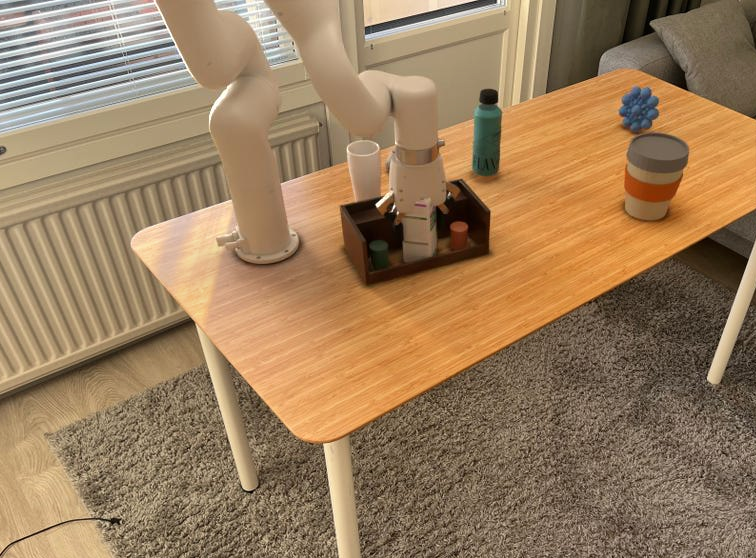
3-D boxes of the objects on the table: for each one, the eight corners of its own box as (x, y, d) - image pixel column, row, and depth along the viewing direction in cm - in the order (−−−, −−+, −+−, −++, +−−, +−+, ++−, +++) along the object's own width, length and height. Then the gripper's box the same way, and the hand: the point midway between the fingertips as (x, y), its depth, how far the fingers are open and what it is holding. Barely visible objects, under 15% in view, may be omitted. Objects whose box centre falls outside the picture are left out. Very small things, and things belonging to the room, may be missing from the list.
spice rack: (366, 285, 134) (361, 241, 128) (344, 248, 143) (339, 205, 136) (488, 253, 143) (490, 210, 136) (461, 220, 151) (461, 178, 144)
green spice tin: (374, 273, 137) (372, 252, 134) (368, 263, 140) (366, 242, 136) (392, 269, 138) (390, 248, 135) (385, 259, 141) (384, 238, 137)
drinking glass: (390, 208, 154) (386, 144, 144) (374, 223, 150) (369, 158, 139) (363, 200, 156) (357, 137, 146) (347, 215, 152) (339, 151, 141)
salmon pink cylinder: (454, 253, 142) (454, 233, 139) (447, 243, 145) (447, 223, 141) (470, 249, 144) (471, 229, 140) (463, 239, 146) (463, 219, 143)
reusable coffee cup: (685, 209, 156) (702, 145, 145) (654, 232, 149) (670, 167, 139) (637, 188, 162) (650, 126, 151) (605, 209, 155) (616, 145, 145)
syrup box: (431, 266, 139) (430, 202, 129) (402, 262, 140) (399, 198, 130) (438, 250, 143) (437, 186, 133) (409, 246, 144) (407, 182, 134)
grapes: (663, 135, 181) (673, 88, 173) (646, 143, 178) (656, 96, 169) (627, 119, 187) (635, 74, 179) (611, 126, 184) (618, 81, 176)
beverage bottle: (467, 179, 163) (468, 94, 150) (477, 166, 168) (480, 82, 154) (493, 185, 162) (497, 100, 148) (503, 171, 166) (508, 88, 152)
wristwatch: (410, 166, 167) (409, 147, 164) (392, 176, 164) (391, 156, 160) (400, 161, 169) (399, 142, 165) (381, 171, 165) (380, 151, 162)
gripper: (452, 132, 131) (452, 214, 143) (363, 150, 125) (370, 233, 138) (470, 150, 126) (468, 233, 138) (377, 169, 120) (384, 254, 133)
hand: (419, 233), depth 138 cm, fingers closed on syrup box, 8 cm apart
